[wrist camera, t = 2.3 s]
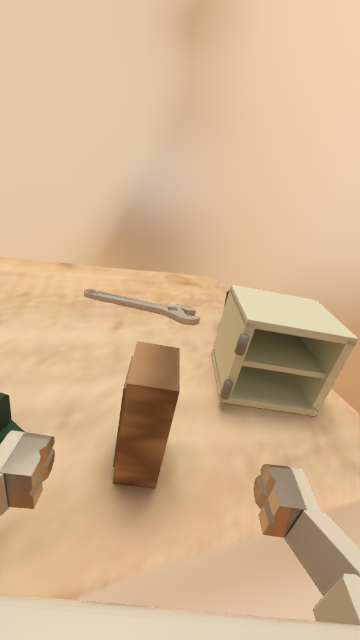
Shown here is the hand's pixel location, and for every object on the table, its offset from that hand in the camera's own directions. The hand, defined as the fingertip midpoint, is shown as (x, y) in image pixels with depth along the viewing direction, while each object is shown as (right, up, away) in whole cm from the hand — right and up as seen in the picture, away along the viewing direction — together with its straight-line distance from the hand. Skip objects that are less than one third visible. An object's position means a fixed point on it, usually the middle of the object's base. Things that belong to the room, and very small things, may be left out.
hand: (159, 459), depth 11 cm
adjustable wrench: (-7, +8, +51) cm, 52 cm away
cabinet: (+13, -4, +34) cm, 37 cm away
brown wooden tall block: (-4, -9, +18) cm, 21 cm away
